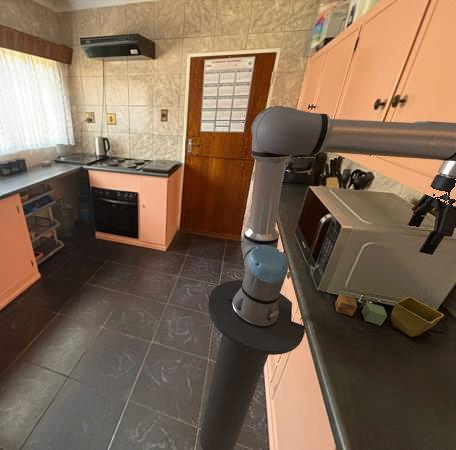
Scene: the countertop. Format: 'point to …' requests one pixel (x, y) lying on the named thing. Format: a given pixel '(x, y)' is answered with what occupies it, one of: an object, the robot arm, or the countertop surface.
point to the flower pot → (414, 316)
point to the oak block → (345, 305)
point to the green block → (374, 313)
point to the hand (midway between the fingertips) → (416, 242)
